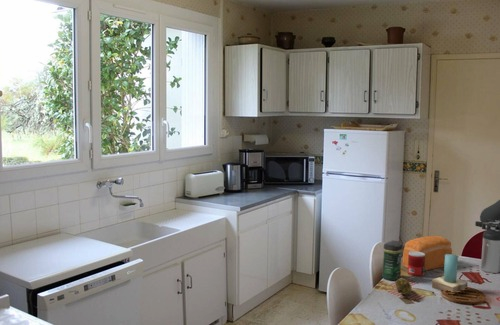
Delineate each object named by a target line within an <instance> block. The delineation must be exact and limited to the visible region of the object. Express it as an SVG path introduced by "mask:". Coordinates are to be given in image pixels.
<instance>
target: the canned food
mask: <svg viewBox="0 0 500 325" xmlns="http://www.w3.org/2000/svg"><path fill="white" fill-rule="evenodd" d="M424 268H425V254H424V253H422V252H417V251H411V252H409V256H408V268H407V273H408V275H409V276H412V277H423V276H424V275H425V271H424Z"/></svg>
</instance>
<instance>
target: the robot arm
mask: <svg viewBox="0 0 500 325" xmlns="http://www.w3.org/2000/svg"><path fill="white" fill-rule="evenodd" d="M474 223H475V224H474V226H475V227H477V228H478V227H479V228H481V229H482V230H485V231H484V232H483V233H482V245H481V246H482V248H481V260H480V261H481V262H480V270H481V271H482V272H485V273H492V274H498V273H500V199H498V200H497V201H496V202H495V203H493V204H491V205H489V206H488V207H485V208H484V209H483V210H481V212H480V215H479V221H478V220H477V221H475V222H474Z"/></svg>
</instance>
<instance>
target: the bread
mask: <svg viewBox="0 0 500 325" xmlns="http://www.w3.org/2000/svg"><path fill="white" fill-rule="evenodd" d="M451 246H452V242H451V240H448V239H447V238H446V237H444V236H440V235H430V236H429V235H428V236H422V237H417V238H412V239H410V240H408V241H406V243H405V244H404V247H403V250H402V251H403V253H402V267H404V268H406V269H408V256H409V252H411V251H417V252H422V253H424V254H425V268H424V272H426V271H431V270H434V269H438V268H443V267H444V265H445V255H446V254H452V252H453V249H452V247H451Z"/></svg>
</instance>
